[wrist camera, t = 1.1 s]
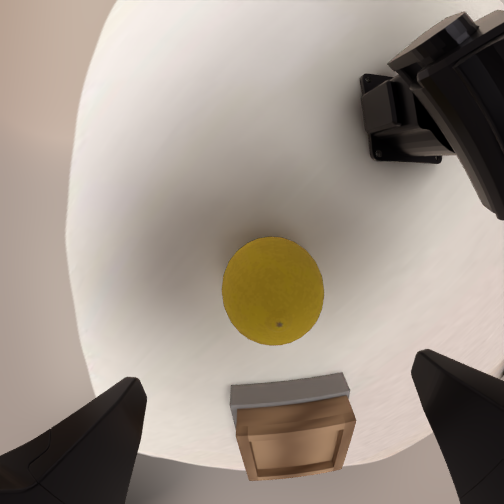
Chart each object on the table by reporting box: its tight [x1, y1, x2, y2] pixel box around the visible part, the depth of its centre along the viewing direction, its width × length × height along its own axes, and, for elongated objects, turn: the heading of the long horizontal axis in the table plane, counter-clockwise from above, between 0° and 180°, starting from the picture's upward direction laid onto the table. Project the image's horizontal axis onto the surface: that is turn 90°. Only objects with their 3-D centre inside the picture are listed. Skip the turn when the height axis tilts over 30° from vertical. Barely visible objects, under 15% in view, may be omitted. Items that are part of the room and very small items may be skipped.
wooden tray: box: [236, 395, 356, 481], centre depth 19 cm, size 9×9×3 cm
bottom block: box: [230, 373, 350, 428], centre depth 22 cm, size 10×10×3 cm
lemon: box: [222, 237, 324, 345], centre depth 15 cm, size 6×6×8 cm
